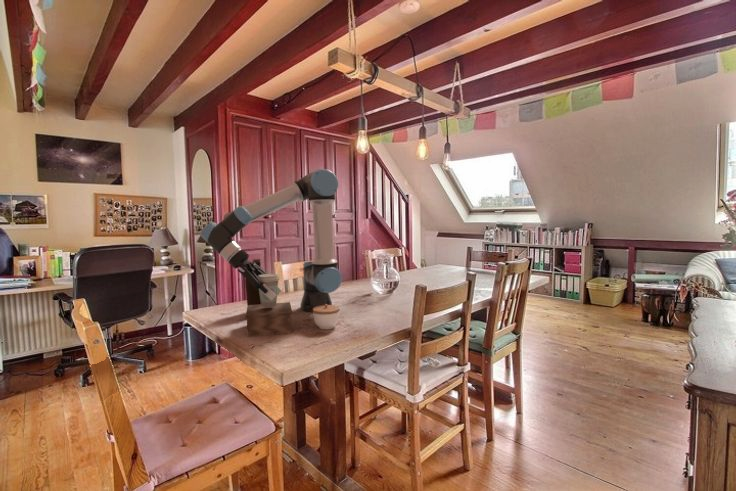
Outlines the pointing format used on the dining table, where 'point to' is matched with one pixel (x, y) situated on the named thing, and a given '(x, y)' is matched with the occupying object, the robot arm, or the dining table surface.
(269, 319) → the walnut stand
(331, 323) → the lidded jar
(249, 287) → the olive oil
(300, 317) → the dining table surface
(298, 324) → the dining table surface
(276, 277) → the coffee cup
